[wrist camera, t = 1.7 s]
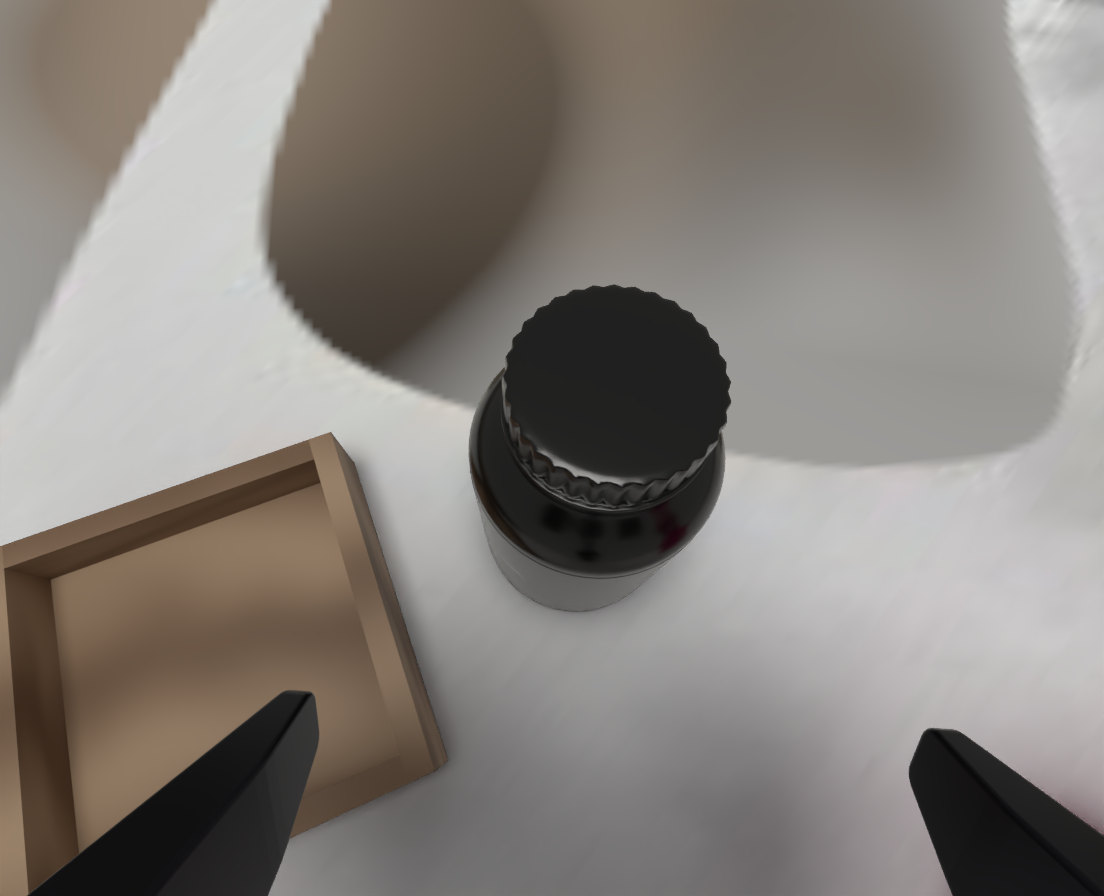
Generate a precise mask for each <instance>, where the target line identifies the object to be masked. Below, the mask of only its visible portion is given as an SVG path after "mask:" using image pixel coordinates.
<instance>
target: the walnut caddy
mask: <svg viewBox="0 0 1104 896" xmlns="http://www.w3.org/2000/svg"><path fill="white" fill-rule="evenodd" d="M286 690H300V691H310V692H312V693H313V694H314V696H315V699H316V707H317V715H318V723H319V733H320V734H319V744H318V748H317V752H316V755H315V758H314V761H313V765H312V768H311V771H310V774H309V777H308V780H307V784H306V787H305V790H304V793H303V796H302V799H301V803H300V806H299V809H298V812H297V815H296V819H295V822H294V825H293V828H292V831H291V834H290V838H292V837H294V836H296V835H298V834H300V833H302V832H305V831H307V830H309V829H311V828H313V827H315V826H317V825H320V824H322V823H324V822H326V821H328V820H330V819H333V818H335V817H337V816H339V815H341V814H343V813H346V812H348V811H350V810H352V809H354V808H356V807H359V806H361V805H363V804H365V803H367V802H369V801H371V800H374V799H376V798H378V797H380V796H382V795H384V794H387V793H389V792H391V791H393V790H395V789H397V788H400V787H402V786H404V785H406V784H408V783H410V782H413V781H415V780H417V779H419V778H421V777H423V776H425V775H428V774H430V773H432V772H434V771H436V770H437V769H438V768H439V767H441V766H442V765H443V764H444V763H446V762H447V761H448V759H447V756H446V753H445V749H444V746H443V743H442V740H441V737H440V734H439V730H438V727H437V724H436V721H435V718H434V714H433V711H432V708H431V705H430V702H429V699H428V695H427V692H426V689H425V686H424V683H423V680H422V676H421V673H420V670H419V667H418V664H417V661H416V657H415V654H414V651H413V648H412V645H411V642H410V638H409V635H408V632H407V629H406V626H405V623H404V619H403V616H402V613H401V610H400V607H399V604H398V600H397V597H396V594H395V591H394V588H393V585H392V581H391V578H390V575H389V572H388V569H387V566H386V562H385V559H384V556H383V553H382V550H381V547H380V543H379V540H378V537H377V534H376V531H375V528H374V524H373V521H372V518H371V515H370V512H369V509H368V505H367V502H366V499H365V496H364V493H363V489H362V486H361V483H360V480H359V477H358V474H357V470H356V467H355V464H354V462H353V461H352V459H351V458H350V457H349V455H348V454H347V453H346V451H345V450H344V449H343V447H342V446H341V445H340V444H339V442H338V441H337V440H336V438H335V437H334V436H333V434H332V433H331V432H329V433H327V434H324V435H321V436H318V437H315V438H312V439H309V440H306V441H303V442H301V443H298V444H295V445H292V446H289V447H286V448H283V449H280V450H277V451H275V452H272V453H269V454H266V455H263V456H260V457H257V458H254V459H251V460H249V461H246V462H243V463H240V464H237V465H234V466H231V467H228V468H225V469H223V470H220V471H217V472H214V473H211V474H208V475H205V476H202V477H199V478H197V479H194V480H191V481H188V482H185V483H182V484H179V485H176V486H173V487H171V488H168V489H165V490H162V491H159V492H156V493H153V494H150V495H147V496H145V497H142V498H139V499H136V500H133V501H130V502H127V503H124V504H121V505H119V506H116V507H113V508H110V509H107V510H104V511H101V512H98V513H95V514H93V515H90V516H87V517H84V518H81V519H78V520H75V521H72V522H69V523H66V524H64V525H61V526H58V527H55V528H52V529H49V530H46V531H43V532H40V533H38V534H35V535H32V536H29V537H26V538H23V539H20V540H17V541H14V542H12V543H9V544H6V545H3V546H0V896H27V895H28V894H29V893H30V892H32V891H33V890H34V889H35V888H37V887H38V886H39V885H41V884H42V883H43V882H44V881H46V880H47V879H48V878H49V877H51V876H52V875H53V874H54V873H56V872H57V871H58V870H59V869H61V868H62V867H63V866H64V865H66V864H67V863H68V862H69V861H71V860H72V859H73V858H74V857H76V856H77V855H78V854H79V853H81V852H82V851H83V850H84V849H86V848H87V847H88V846H89V845H91V844H92V843H93V842H94V841H96V840H97V839H98V838H99V837H101V836H102V835H103V834H104V833H106V832H107V831H108V830H109V829H111V828H112V827H113V826H114V825H116V824H117V823H118V822H119V821H121V820H122V819H123V818H124V817H126V816H127V815H128V814H129V813H131V812H132V811H133V810H134V809H136V808H137V807H138V806H139V805H141V804H142V803H143V802H144V801H146V800H147V799H148V798H149V797H151V796H152V795H153V794H154V793H156V792H157V791H158V790H159V789H161V788H162V787H163V786H164V785H166V784H167V783H168V782H169V781H171V780H172V779H173V778H174V777H176V776H177V775H178V774H179V773H181V772H182V771H183V770H185V769H186V768H187V767H188V766H190V765H191V764H192V763H193V762H195V761H196V760H197V759H198V758H200V757H201V756H202V755H203V754H205V753H206V752H207V751H208V750H210V749H211V748H212V747H213V746H215V745H216V744H217V743H218V742H220V741H221V740H222V739H223V738H225V737H226V736H227V735H228V734H230V733H231V732H232V731H233V730H235V729H236V728H237V727H238V726H240V725H241V724H242V723H243V722H245V721H246V720H247V719H248V718H250V717H251V716H252V715H253V714H255V713H256V712H257V711H258V710H260V709H261V708H262V707H263V706H265V705H266V704H267V703H268V702H270V701H271V700H272V699H273V698H275V697H276V696H277V695H278V694H280V693H281V692H283V691H286Z"/></svg>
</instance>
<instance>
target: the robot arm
mask: <svg viewBox="0 0 1104 896" xmlns="http://www.w3.org/2000/svg"><path fill="white" fill-rule="evenodd" d="M319 734H320V733H319V723H318V715H317V707H316V699H315V696H314V694H313V693H312V692H310V691H300V690H286V691H283V692H281V693H280V694H278V695H277V696H276V697H275V698H273V699H272V700H271V701H270V702H268V703H267V704H266V705H265V706H263V707H262V708H261V709H260V710H258V711H257V712H256V713H255V714H253V715H252V716H251V717H250V718H248V719H247V720H246V721H245V722H243V723H242V724H241V725H240V726H238V727H237V728H236V729H235V730H233V731H232V732H231V733H230V734H228V735H227V736H226V737H225V738H223V739H222V740H221V741H220V742H218V743H217V744H216V745H215V746H213V747H212V748H211V749H210V750H208V751H207V752H206V753H205V754H203V755H202V756H201V757H200V758H198V759H197V760H196V761H195V762H193V763H192V764H191V765H190V766H188V767H187V768H186V769H185V770H183V771H182V772H181V773H179V774H178V775H177V776H176V777H174V778H173V779H172V780H171V781H169V782H168V783H167V784H166V785H164V786H163V787H162V788H161V789H159V790H158V791H157V792H156V793H154V794H153V795H152V796H151V797H149V798H148V799H147V800H146V801H144V802H143V803H142V804H141V805H139V806H138V807H137V808H136V809H134V810H133V811H132V812H131V813H129V814H128V815H127V816H126V817H124V818H123V819H122V820H121V821H119V822H118V823H117V824H116V825H114V826H113V827H112V828H111V829H109V830H108V831H107V832H106V833H104V834H103V835H102V836H101V837H99V838H98V839H97V840H96V841H94V842H93V843H92V844H91V845H89V846H88V847H87V848H86V849H84V850H83V851H82V852H81V853H79V854H78V855H77V856H76V857H74V858H73V859H72V860H71V861H69V862H68V863H67V864H66V865H64V866H63V867H62V868H61V869H59V870H58V871H57V872H56V873H54V874H53V875H52V876H51V877H49V878H48V879H47V880H46V881H44V882H43V883H42V884H41V885H39V886H38V887H37V888H35V889H34V890H33V891H32V892H30V893H29V894H28V895H27V896H268V894H269V891H270V889H271V886H272V884H273V882H274V879H275V877H276V874H277V872H278V869H279V867H280V864H281V862H282V859H283V856H284V853H285V850H286V847H287V844H288V841H289V838H290V834H291V831H292V828H293V825H294V822H295V819H296V815H297V812H298V809H299V806H300V803H301V799H302V796H303V793H304V790H305V787H306V784H307V780H308V777H309V774H310V771H311V768H312V765H313V761H314V758H315V755H316V752H317V748H318V744H319ZM909 779H910V784H911V787H912V790H913V792H914V795H915V798H916V800H917V803H918V806H919V808H920V811H921V814H922V816H923V819H924V822H925V824H926V827H927V830H928V832H929V835H930V838H931V840H932V843H933V846H934V848H935V851H936V854H937V856H938V859H939V862H940V864H941V867H942V870H943V872H944V875H945V878H946V880H947V883H948V885H949V888H950V890H951V893H952V895H953V896H1104V835H1102V834H1101V833H1099V832H1098V831H1097V830H1095V829H1094V828H1093V827H1091V826H1090V825H1088V824H1087V823H1086V822H1084V821H1083V820H1081V819H1080V818H1079V817H1077V816H1076V815H1075V814H1073V813H1072V812H1070V811H1069V810H1068V809H1066V808H1065V807H1063V806H1062V805H1061V804H1059V803H1058V802H1057V801H1055V800H1054V799H1052V798H1051V797H1050V796H1048V795H1047V794H1046V793H1044V792H1043V791H1041V790H1040V789H1039V788H1037V787H1036V786H1034V785H1033V784H1032V783H1030V782H1029V781H1028V780H1026V779H1025V778H1023V777H1022V776H1021V775H1019V774H1018V773H1017V772H1015V771H1014V770H1012V769H1011V768H1010V767H1008V766H1007V765H1005V764H1004V763H1003V762H1001V761H1000V760H999V759H997V758H996V757H994V756H993V755H992V754H990V753H989V752H988V751H986V750H985V749H983V748H982V747H981V746H979V745H978V744H976V743H975V742H974V741H972V740H971V739H970V738H968V737H967V736H965V735H964V734H962V733H961V732H959V731H957V730H953V729H940V728H929V729H927V730H926V731H924V732H923V734H922V736H921V739H920V741H919V744H918V746H917V748H916V751H915V753H914V756H913V758H912V761H911V763H910V766H909Z"/></svg>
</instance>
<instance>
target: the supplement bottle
mask: <svg viewBox="0 0 1104 896" xmlns="http://www.w3.org/2000/svg"><path fill="white" fill-rule="evenodd" d="M730 384H731V381H730V379H729V377H728V376H727V374H726V362H725V360H724V359H723V358H722V357H721V355H720V354H719V347H718V344H717V343H716V342H715V341H714V340H713V339H712V338H710V336H709V333H708V330H707V328H706V327H704V326H703V325H702V324H700V323H698V322H697V321H696V319H695V317H694V316H693V314H692V313H690V312H688V311H686V310H683V309H681V308H680V307H679V306H678V304H677V303H676V302H675V301H671V300H667V299H663V298H662V297H660V296H659V295H658V294H657V293H655V292H644V291H642V290H640V289H638V288H636V287H627V288H623V287H620V286H617V285H610V286H606V287H600V286H591V287H589V288H587V289H585V290H573V291H571V292H570V293H569V294H567V295H566V296H560V297H555V298H554V299H553V300H552V301H551V302H550V303H549V305H546V306H543V307H541V308H538V309H537V311H536V313H535V315H534V317H532V318H531V319H528V320H527V321H525V322H524V324H523V326H522V331H521V332H520V333H519V334H517V335H516V336H515V337H514V338H513V340H512V349H511V350H510V352H509V353H508V354H507V356H506V358H505V367H504V368H503V369H502V370H501V371H500V373H499V374H498V375H497V376H496V377H495V378H494V379H493V381H492V382H491V384H490V385H489V386H488V388H487V389H486V391H485V393H484V394H483V396H482V398H481V400H480V402H479V404H478V407H477V409H476V412H475V415H474V418H473V421H472V425H471V430H470V437H469V464H470V473H471V478H472V483H473V487H474V491H475V495H476V499H477V503H478V506H479V510H480V514H481V518H482V522H483V526H484V530H485V533H486V537H487V541H488V544H489V547H490V550H491V552H492V555H493V557H494V559H495V561H496V563H497V565H498V567H499V568H500V570H501V571H502V573H503V574H504V576H505V577H506V578H507V579H508V580H509V581H510V583H511V584H512V585H513V586H515V587H516V588H517V589H518V590H519V591H520V592H522V593H523V594H524V595H526V596H527V597H529V598H530V599H532V600H534V601H536V602H538V603H540V604H543V605H545V606H548V607H551V608H555V609H560V610H566V611H587V610H594V609H598V608H602V607H605V606H608V605H610V604H613V603H615V602H617V601H619V600H621V599H622V598H624V597H626V596H627V595H629V594H630V593H631V592H633V591H634V590H635V589H637V588H638V587H639V586H640V585H641V584H643V583H644V582H645V581H646V580H647V579H648V578H650V577H651V576H652V575H653V574H654V573H655V572H657V571H658V570H659V569H660V568H661V567H662V566H664V565H665V564H666V563H667V562H668V561H669V560H671V559H672V558H673V557H674V556H675V555H676V554H677V553H679V552H680V551H681V550H682V549H683V548H684V547H685V546H686V545H687V544H688V543H689V542H690V541H691V540H692V539H693V538H694V537H695V536H696V534H697V533H698V532H699V531H700V530H701V528H702V527H703V526H704V524H705V523H706V521H707V520H708V518H709V517H710V515H711V513H712V511H713V509H714V507H715V505H716V502H717V500H718V497H719V495H720V491H721V487H722V484H723V478H724V471H725V447H724V440H723V434H722V430H723V429H724V427H725V426H726V423H727V414H726V412H727V410H728V408H729V407H730V404H731V399H730V396H729V393H728V390H729V388H730Z"/></svg>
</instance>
